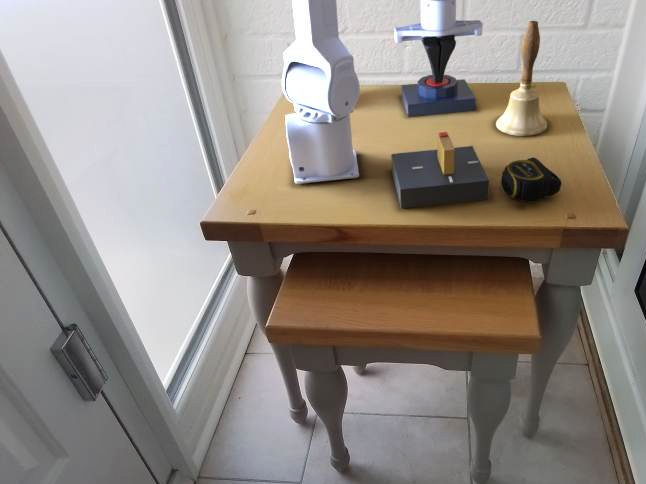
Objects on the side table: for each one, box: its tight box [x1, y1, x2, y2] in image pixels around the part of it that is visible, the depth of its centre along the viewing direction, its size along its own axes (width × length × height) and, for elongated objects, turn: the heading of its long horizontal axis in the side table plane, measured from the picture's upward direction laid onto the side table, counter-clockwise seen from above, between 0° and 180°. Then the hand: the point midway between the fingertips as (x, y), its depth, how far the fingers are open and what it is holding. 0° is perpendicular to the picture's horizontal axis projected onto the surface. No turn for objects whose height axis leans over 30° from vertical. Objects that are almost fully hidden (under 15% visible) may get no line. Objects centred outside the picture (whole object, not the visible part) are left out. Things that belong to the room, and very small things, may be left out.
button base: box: [400, 74, 477, 118], centre depth 96 cm, size 12×9×4 cm
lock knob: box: [436, 131, 455, 175], centre depth 73 cm, size 5×1×4 cm, turn 5°
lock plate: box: [391, 145, 490, 209], centre depth 75 cm, size 12×10×3 cm
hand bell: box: [495, 20, 548, 137], centre depth 84 cm, size 8×8×16 cm
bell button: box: [426, 77, 449, 87], centre depth 95 cm, size 4×4×2 cm
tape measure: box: [500, 156, 562, 203], centre depth 72 cm, size 7×7×4 cm
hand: (437, 81), depth 95 cm, fingers closed, pressing on bell button
